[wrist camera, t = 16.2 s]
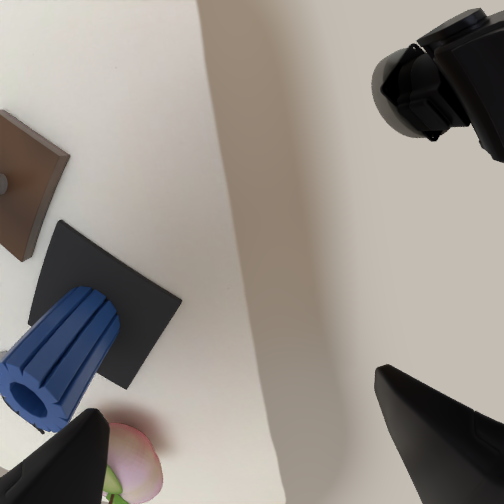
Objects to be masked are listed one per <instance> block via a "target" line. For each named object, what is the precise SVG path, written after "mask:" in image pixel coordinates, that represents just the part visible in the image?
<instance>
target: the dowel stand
mask: <svg viewBox="0 0 504 504" xmlns="http://www.w3.org/2000/svg"><path fill="white" fill-rule="evenodd" d="M69 157H70V155H68V154H67V153H66V152H64V151H63V150H61V149H60V148H58V147H57V146H55V145H54V144H52V143H51V142H49V141H48V140H46V139H45V138H43V137H42V136H41V135H39V134H38V133H36V132H35V131H33V130H32V129H30V128H29V127H27V126H26V125H24V124H23V123H22V122H20V121H19V120H17V119H16V118H14V117H13V116H12V115H10V114H9V113H7V112H6V111H4V110H0V244H1V245H3V246H4V247H5V248H6V249H7V250H8V251H9V252H10V253H11V254H13V255H14V256H15V257H16V258H17V259H18V260H20V261H21V262H23V261H25V260H27V259H28V258H30V257H32V254H33V251H34V247H35V244H36V241H37V238H38V235H39V231H40V228H41V226H42V223H43V220H44V217H45V214H46V211H47V209H48V206H49V203H50V201H51V198H52V196H53V193H54V191H55V188H56V186H57V184H58V181H59V179H60V177H61V174H62V172H63V170H64V168H65V165H66V163H67V161H68V159H69Z"/></svg>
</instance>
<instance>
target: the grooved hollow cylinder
mask: <svg viewBox="0 0 504 504" xmlns="http://www.w3.org/2000/svg"><path fill="white" fill-rule="evenodd" d="M105 299H106V296H105V295H103V294H102V293H100V292H99V291H97V290H96V289H94V290H93V291H92V288H91V287H84V286H79V287H78V288H77V287H75V288H73V289H72V290H70V291H68V292H67V293H66V294H65V295H64V296H63V297H62V298H61V299H60V300H59V301H58V302H57V303H55V304H54V305H53V306H52V307H51V308H50V309H49V310H48V311H47V312H46V313H45V314H44V315H43V316H42V317H41V318H40V319H39V320H38V321H37V322H36V323H35V324H34V325H33V326H32V327H31V328H30V329H29V330H28V331H27V332H26V333H25V334H24V335H23V336H22V337H21V338H20V339H19V340H18V341H17V342H16V343H15V345H14V346H13V347H12V348H11V349H10V350H9V351H8V352H7V353H6V354H5V355H4V356H3V357H2V359H1V360H0V394H1V395H2V396H4V397H5V398H4V400H5V401H6V402H7V403H8V404H9V405H10V406H11V408H12V409H13V410H14V411H15V412H17V411H19V415H20V416H21V417H22V418H24V419H25V420H26V421H28V422H29V423H31V424H32V425H33V424H34V423H35V425H36V427H37V428H40V429H43V430H45V431H48V432H50V431H52V432H54V433H56V432H59V431H60V430H61V429H63V428H64V427H65V426H66V425H67V424H69V422H70V420H71V418H72V416H73V414H74V412H75V410H76V408H77V407H78V405H79V403H80V401H81V399H82V397H83V395H84V393H85V392H86V390H87V388H88V386H89V384H90V382H91V381H92V379H93V377H94V375H95V373H96V372H97V370H98V368H99V366H100V365H101V363H102V361H103V359H104V358H105V356H106V354H107V352H108V351H109V349H110V347H111V346H112V344H113V342H114V340H115V339H116V337H117V335H118V333H119V331H120V330H119V328H120V322H119V315H116V314H115V313H116V312H117V310H116V309H115V307H114V306H113V304H112V303H111V301H110V300H107V301H105ZM104 301H105V302H104Z"/></svg>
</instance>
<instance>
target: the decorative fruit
mask: <svg viewBox="0 0 504 504" xmlns="http://www.w3.org/2000/svg"><path fill="white" fill-rule="evenodd" d="M108 424H109V426H110V438H109V449H108V461H107V469H106V475H105V481H104V487H103V493H102V495H103V496H105V497H106V498H107V499H108V500H109V504H140V503H144V502H147V501H149V500H151V499H153V498H154V497H155V496H156V495H157V494H158V493H159V492H160V490H161V488H162V485H163V473H162V468H161V463H160V461H159V458H158V456H157V454H156V453H155V451H154V449H153V446H152V444H151V443H150V441H149V440H148V438H147V437H146V436H145V435H144V434H143V433H142V432H140V431H139V430H137V429H135V428H133V427H131V426H129V425H125V424H121V423H108Z"/></svg>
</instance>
